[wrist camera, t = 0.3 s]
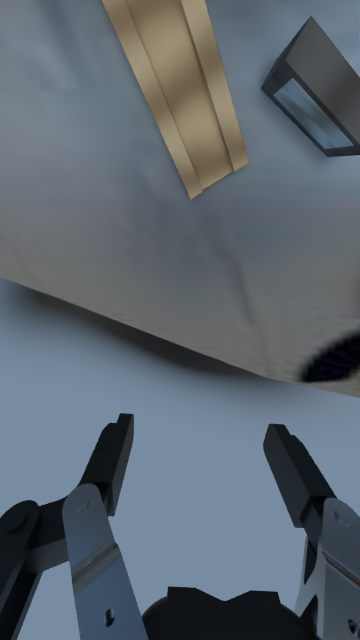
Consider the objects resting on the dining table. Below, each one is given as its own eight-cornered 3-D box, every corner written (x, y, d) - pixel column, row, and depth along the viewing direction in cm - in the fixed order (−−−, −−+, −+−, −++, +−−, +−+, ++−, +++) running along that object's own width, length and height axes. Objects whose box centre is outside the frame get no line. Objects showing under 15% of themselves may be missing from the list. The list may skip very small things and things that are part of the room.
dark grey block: (260, 89, 23) (284, 60, 17) (277, 58, 22) (311, 14, 15) (326, 157, 26) (368, 155, 20) (346, 134, 25) (396, 124, 19)
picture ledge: (98, -13, 19) (81, -45, 16) (167, -100, 17) (161, -158, 14) (191, 195, 30) (190, 199, 27) (243, 162, 27) (249, 162, 24)
